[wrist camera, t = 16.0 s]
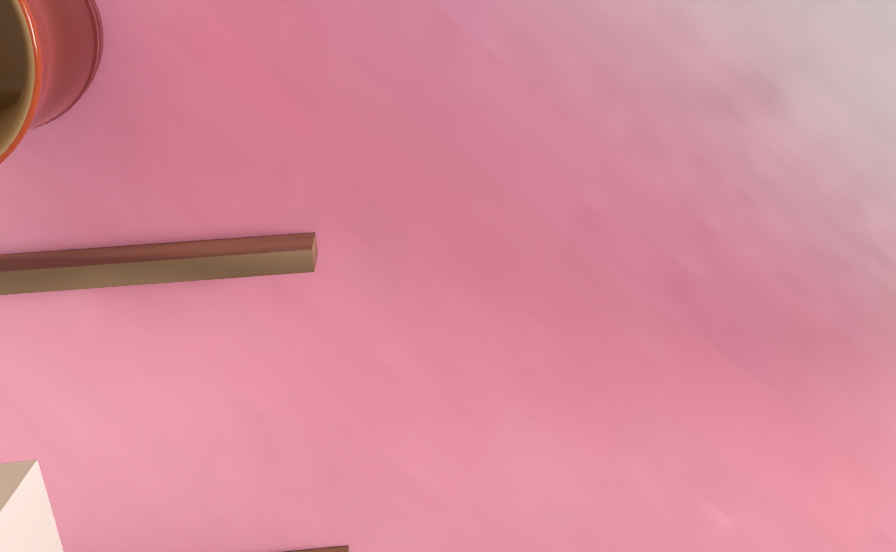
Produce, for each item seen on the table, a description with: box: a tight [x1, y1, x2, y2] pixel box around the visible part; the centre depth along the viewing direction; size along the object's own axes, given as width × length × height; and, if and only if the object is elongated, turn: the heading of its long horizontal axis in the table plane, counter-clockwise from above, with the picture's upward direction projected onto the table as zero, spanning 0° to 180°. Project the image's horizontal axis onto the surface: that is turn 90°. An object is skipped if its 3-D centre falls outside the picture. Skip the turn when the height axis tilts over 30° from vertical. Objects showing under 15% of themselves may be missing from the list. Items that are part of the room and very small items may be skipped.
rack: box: [0, 233, 349, 552], centre depth 35 cm, size 35×24×6 cm
